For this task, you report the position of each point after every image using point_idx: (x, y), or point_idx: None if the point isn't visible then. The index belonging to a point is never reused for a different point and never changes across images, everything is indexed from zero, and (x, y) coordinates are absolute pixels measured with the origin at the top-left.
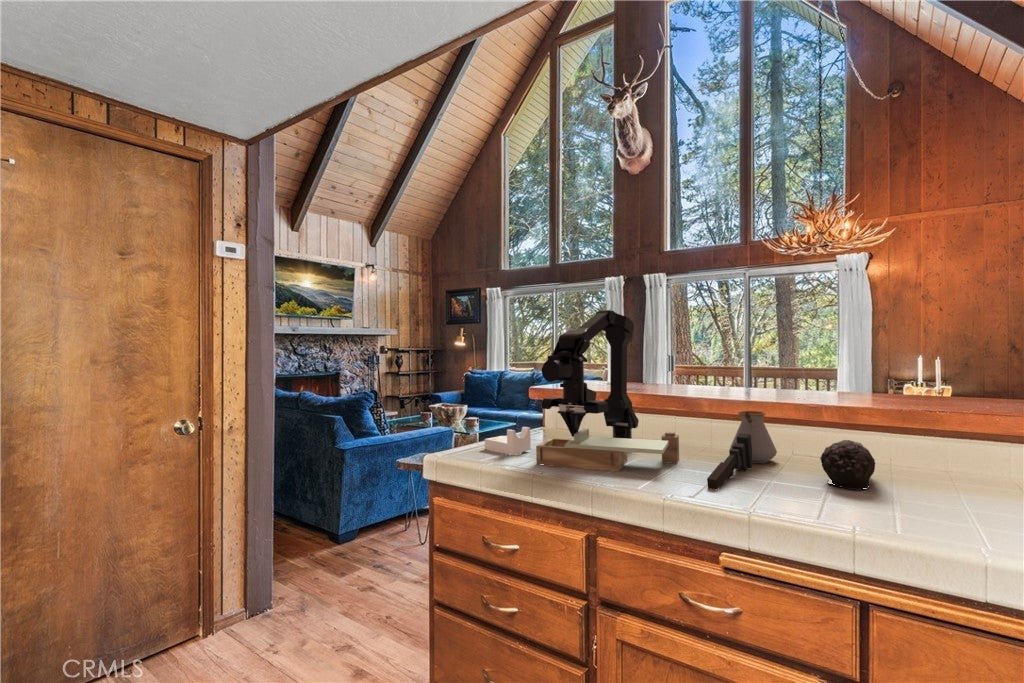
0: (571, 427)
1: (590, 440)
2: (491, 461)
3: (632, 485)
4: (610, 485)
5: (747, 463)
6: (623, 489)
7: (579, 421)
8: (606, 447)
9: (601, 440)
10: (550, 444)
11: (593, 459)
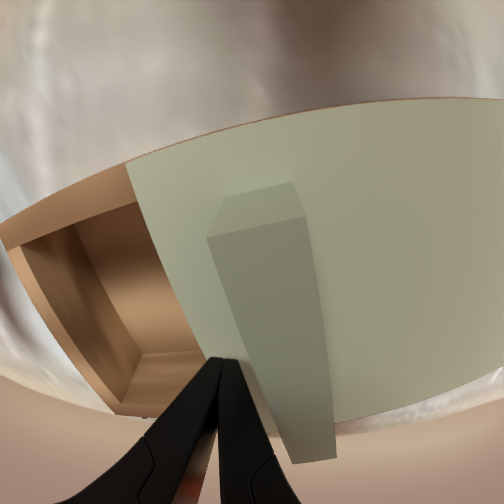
0: (208, 458)
1: (366, 309)
2: (32, 358)
3: (485, 376)
4: (442, 402)
5: None
6: (464, 402)
7: (273, 498)
8: (471, 376)
9: (448, 263)
10: (59, 286)
11: None
